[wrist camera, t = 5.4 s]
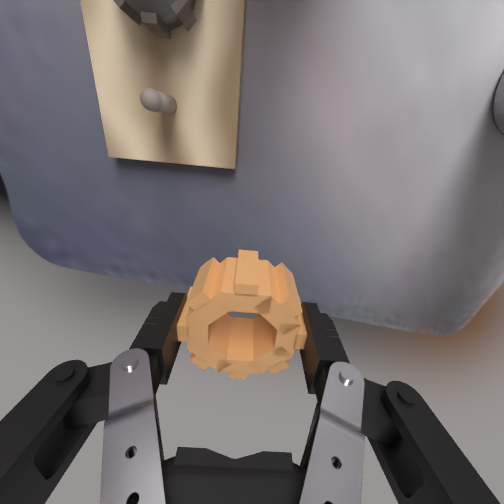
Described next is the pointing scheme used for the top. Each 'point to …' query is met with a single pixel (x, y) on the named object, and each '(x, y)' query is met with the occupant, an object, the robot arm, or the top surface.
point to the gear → (242, 329)
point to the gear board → (168, 77)
